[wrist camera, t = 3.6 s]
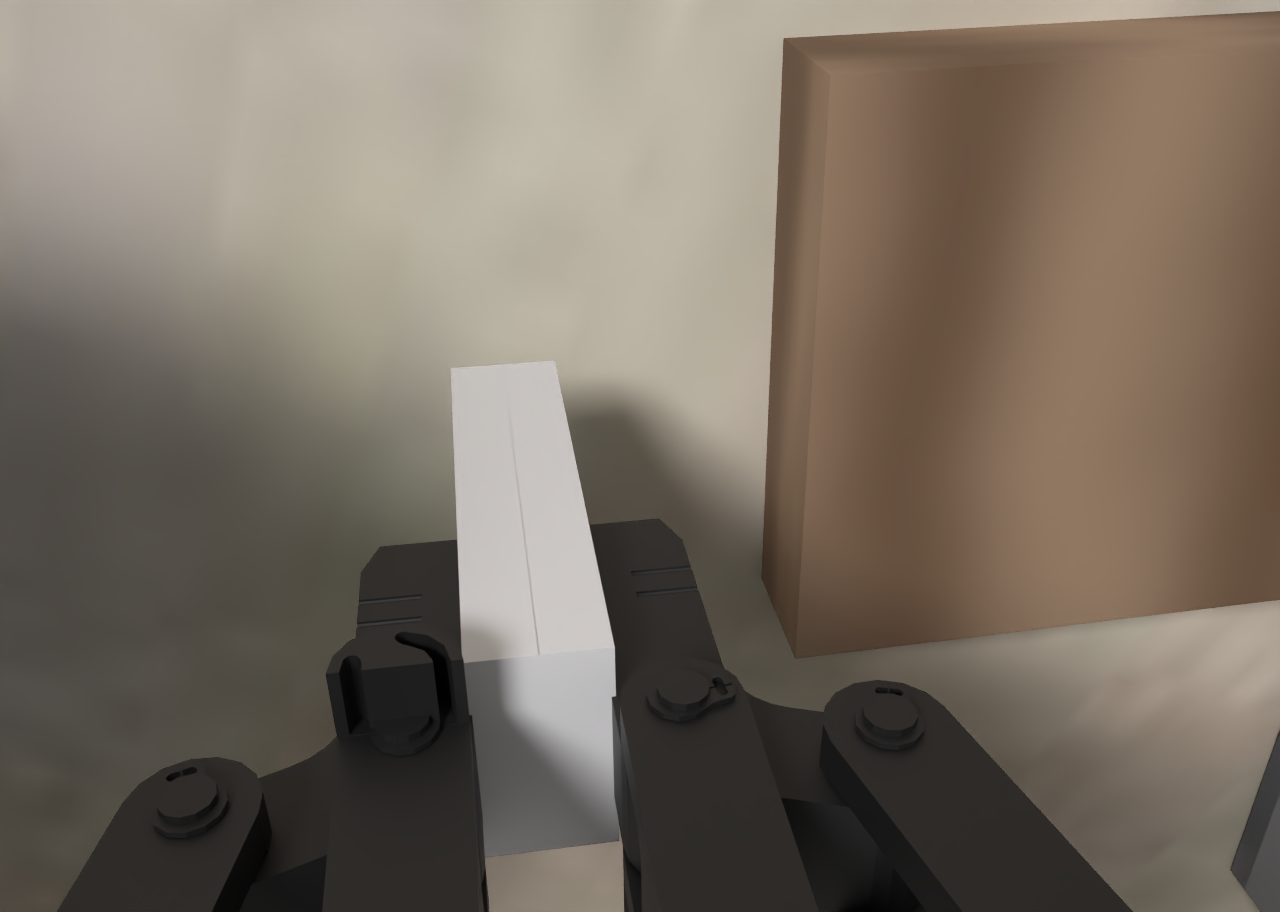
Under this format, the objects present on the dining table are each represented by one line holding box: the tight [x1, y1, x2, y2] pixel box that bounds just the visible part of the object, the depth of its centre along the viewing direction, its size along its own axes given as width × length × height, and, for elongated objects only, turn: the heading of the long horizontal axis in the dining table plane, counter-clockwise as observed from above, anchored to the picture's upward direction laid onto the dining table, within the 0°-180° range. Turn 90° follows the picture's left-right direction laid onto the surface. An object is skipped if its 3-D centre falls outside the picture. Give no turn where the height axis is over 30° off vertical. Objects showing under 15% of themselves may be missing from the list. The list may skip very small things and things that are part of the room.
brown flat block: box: [762, 11, 1280, 659], centre depth 20 cm, size 16×10×4 cm, turn 91°
